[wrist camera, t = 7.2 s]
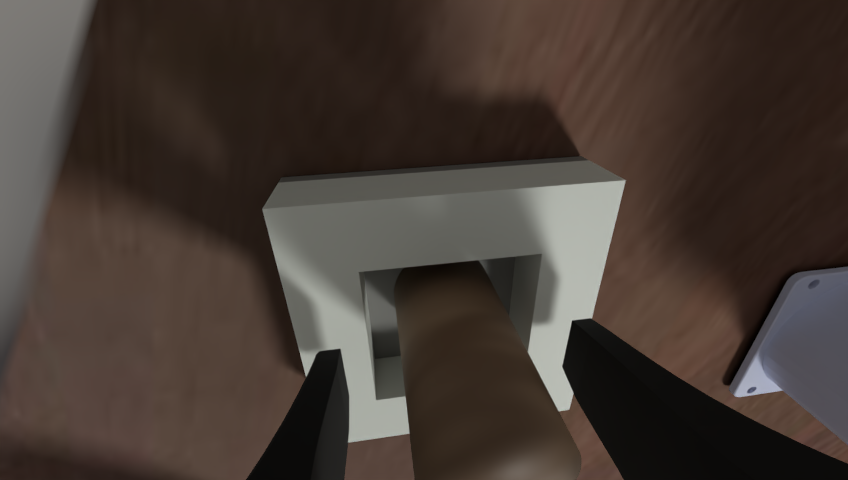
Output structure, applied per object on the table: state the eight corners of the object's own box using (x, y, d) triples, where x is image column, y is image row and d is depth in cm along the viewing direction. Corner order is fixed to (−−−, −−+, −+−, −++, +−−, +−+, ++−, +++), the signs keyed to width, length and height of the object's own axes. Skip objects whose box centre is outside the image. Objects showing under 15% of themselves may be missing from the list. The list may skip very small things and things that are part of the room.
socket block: (580, 156, 13) (625, 180, 10) (544, 363, 17) (569, 409, 15) (281, 177, 12) (262, 209, 9) (329, 392, 16) (324, 446, 14)
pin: (494, 248, 13) (602, 422, 7) (480, 325, 15) (558, 518, 9) (395, 248, 13) (422, 437, 7) (392, 328, 15) (412, 536, 8)
